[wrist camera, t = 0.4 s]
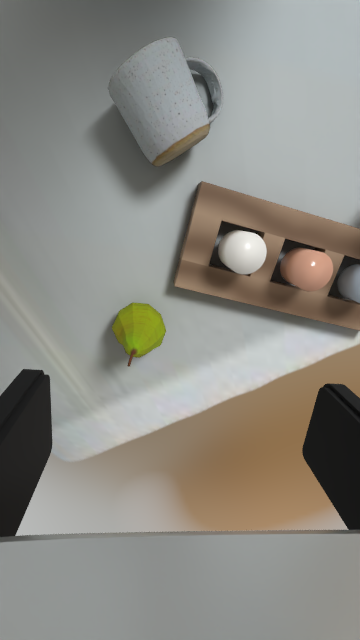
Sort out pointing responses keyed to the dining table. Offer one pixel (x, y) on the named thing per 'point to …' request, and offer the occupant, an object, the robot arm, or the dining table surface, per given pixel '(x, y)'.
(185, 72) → the ceramic mug
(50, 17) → the dining table surface
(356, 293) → the blue egg
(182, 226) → the dining table surface
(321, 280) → the salmon domed cylinder
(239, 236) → the white egg
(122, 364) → the dining table surface
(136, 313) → the fruit
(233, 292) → the walnut board
